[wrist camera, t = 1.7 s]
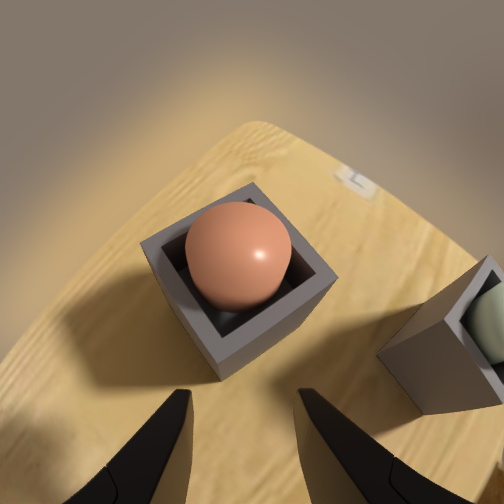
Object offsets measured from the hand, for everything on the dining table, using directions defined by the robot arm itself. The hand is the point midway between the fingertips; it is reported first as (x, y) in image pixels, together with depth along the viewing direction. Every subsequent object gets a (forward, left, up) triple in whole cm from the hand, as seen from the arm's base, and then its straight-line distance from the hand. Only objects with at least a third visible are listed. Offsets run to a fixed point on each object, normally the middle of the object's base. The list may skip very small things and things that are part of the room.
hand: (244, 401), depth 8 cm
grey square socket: (+14, -7, -14) cm, 21 cm away
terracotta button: (+4, +5, -6) cm, 9 cm away
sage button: (+14, -7, -6) cm, 17 cm away
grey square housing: (+4, +5, -14) cm, 15 cm away
